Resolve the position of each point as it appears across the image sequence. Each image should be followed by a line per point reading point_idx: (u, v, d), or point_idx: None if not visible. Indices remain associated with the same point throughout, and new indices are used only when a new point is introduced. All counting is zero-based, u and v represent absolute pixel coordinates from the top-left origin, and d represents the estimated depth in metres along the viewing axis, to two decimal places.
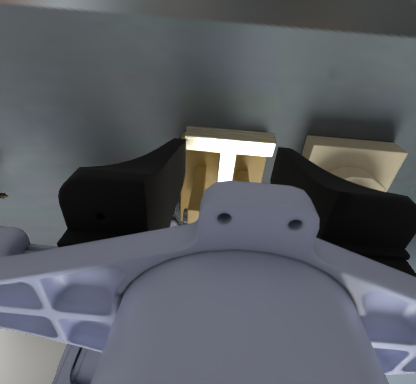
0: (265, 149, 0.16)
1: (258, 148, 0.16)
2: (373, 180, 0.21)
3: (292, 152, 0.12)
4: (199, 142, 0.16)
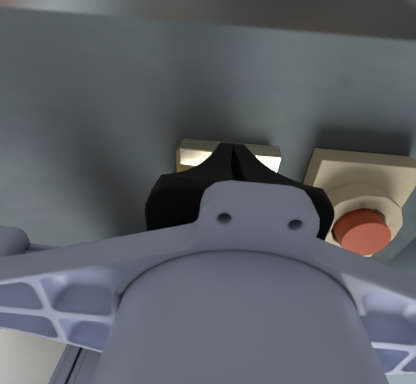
0: (269, 164, 0.14)
1: None
2: (388, 199, 0.19)
3: (242, 148, 0.12)
4: (196, 156, 0.14)
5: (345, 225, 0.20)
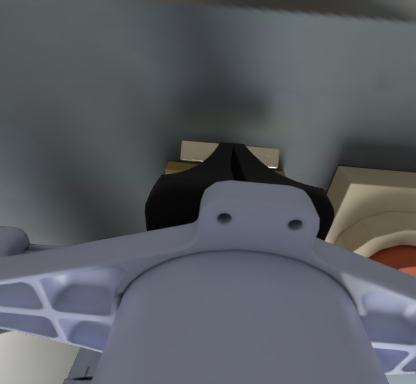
0: (269, 157, 0.14)
1: (261, 155, 0.14)
2: None
3: (241, 148, 0.12)
4: (197, 149, 0.14)
5: None
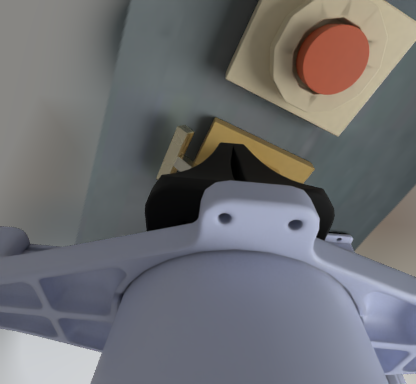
0: (179, 135, 0.21)
1: (177, 139, 0.21)
2: (295, 14, 0.15)
3: (242, 148, 0.12)
4: (162, 173, 0.23)
5: (303, 81, 0.16)
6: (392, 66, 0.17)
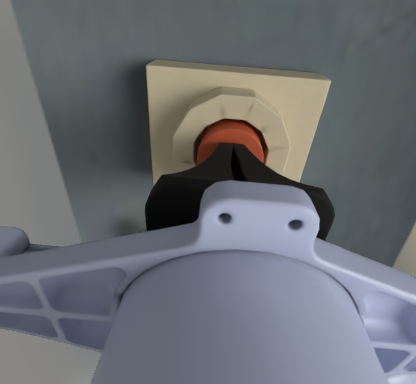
0: None
1: None
2: (176, 132, 0.14)
3: (242, 148, 0.12)
4: None
5: None
6: (314, 125, 0.15)
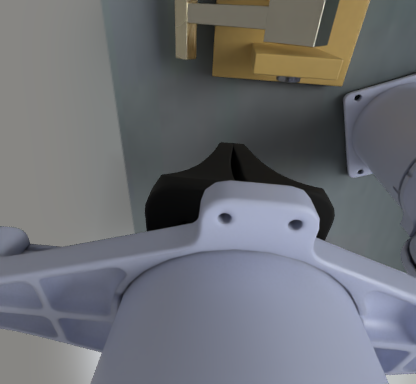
0: None
1: None
2: None
3: (242, 148, 0.12)
4: (179, 44, 0.18)
5: None
6: None
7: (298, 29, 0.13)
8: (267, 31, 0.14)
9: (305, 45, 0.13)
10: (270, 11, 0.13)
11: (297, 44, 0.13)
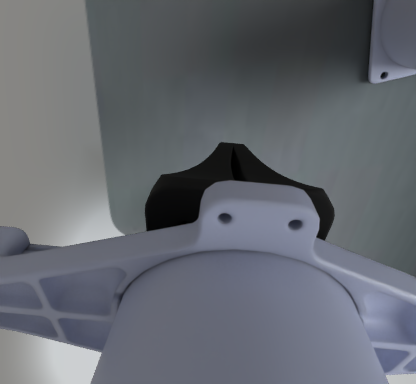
0: None
1: None
2: None
3: (241, 148, 0.12)
4: None
5: None
6: None
7: None
8: None
9: None
10: None
11: None
